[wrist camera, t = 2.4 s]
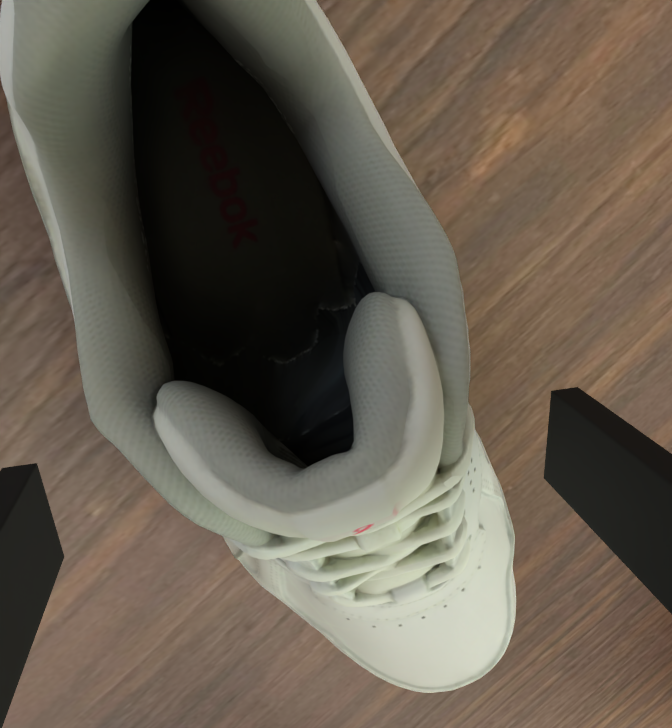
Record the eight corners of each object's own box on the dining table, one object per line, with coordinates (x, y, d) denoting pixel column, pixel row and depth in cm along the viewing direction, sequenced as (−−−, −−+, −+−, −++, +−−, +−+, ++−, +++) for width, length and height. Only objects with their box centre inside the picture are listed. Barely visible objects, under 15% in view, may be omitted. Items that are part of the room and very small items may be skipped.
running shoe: (319, 638, 28) (398, 1046, 16) (-99, 52, 17) (-1010, -160, 4) (518, 536, 28) (756, 865, 15) (231, -125, 17) (261, -863, 4)
